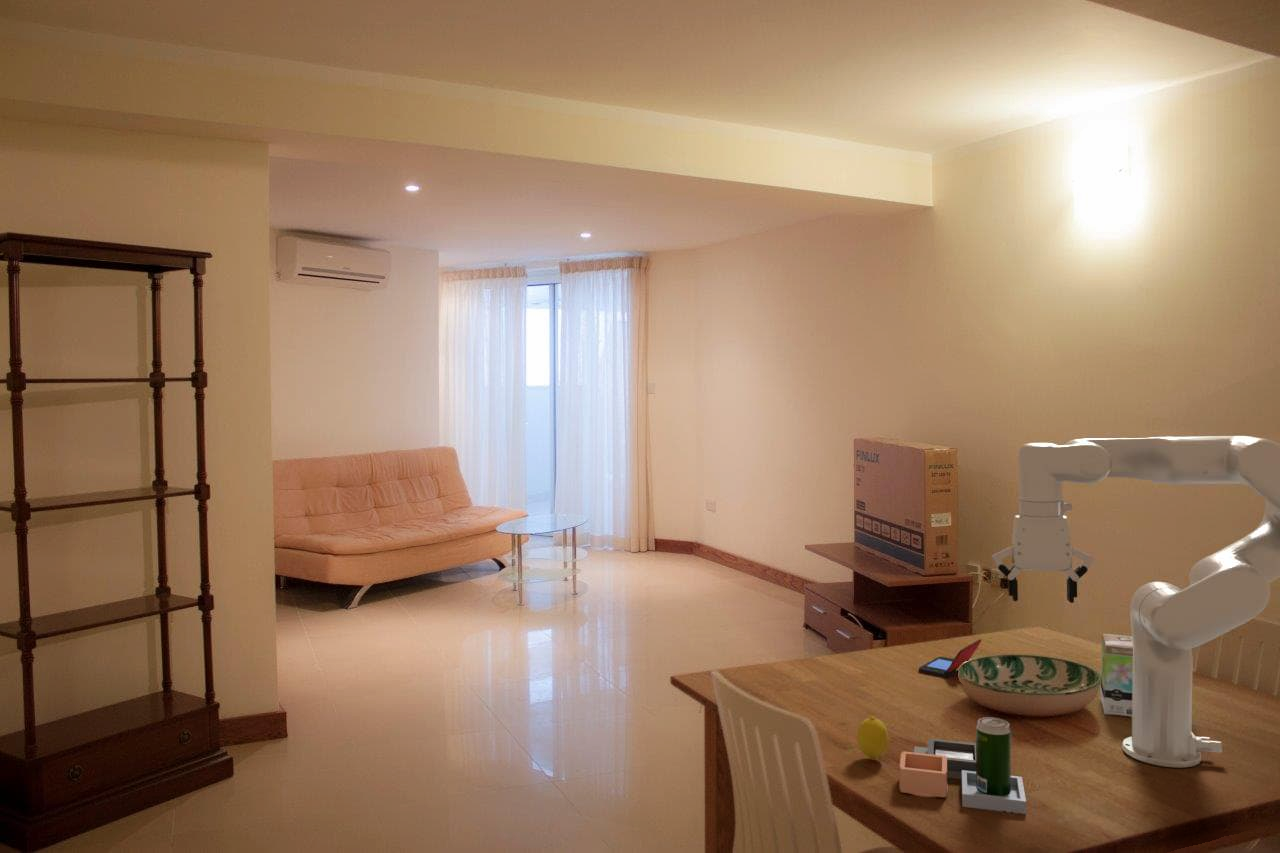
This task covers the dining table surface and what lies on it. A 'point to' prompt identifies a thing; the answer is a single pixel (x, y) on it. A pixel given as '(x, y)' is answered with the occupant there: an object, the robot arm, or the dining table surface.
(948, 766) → the button control box
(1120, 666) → the tea box
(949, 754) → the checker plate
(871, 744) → the lemon
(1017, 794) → the light blue-grey square tray
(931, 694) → the dining table surface
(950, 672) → the handheld game console
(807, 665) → the dining table surface
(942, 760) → the peach open box
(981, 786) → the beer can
